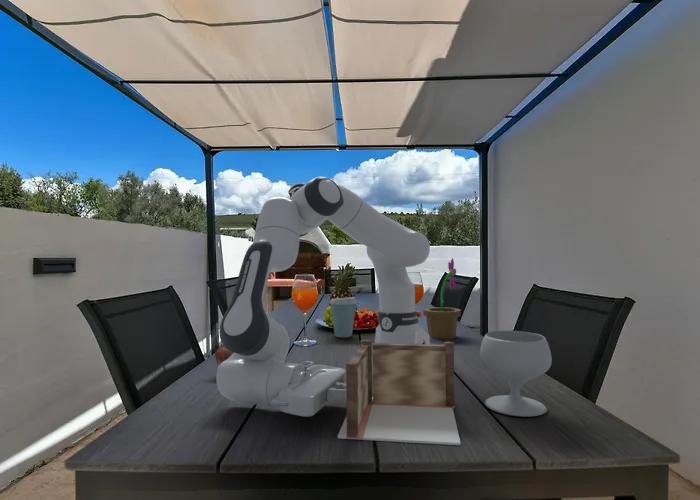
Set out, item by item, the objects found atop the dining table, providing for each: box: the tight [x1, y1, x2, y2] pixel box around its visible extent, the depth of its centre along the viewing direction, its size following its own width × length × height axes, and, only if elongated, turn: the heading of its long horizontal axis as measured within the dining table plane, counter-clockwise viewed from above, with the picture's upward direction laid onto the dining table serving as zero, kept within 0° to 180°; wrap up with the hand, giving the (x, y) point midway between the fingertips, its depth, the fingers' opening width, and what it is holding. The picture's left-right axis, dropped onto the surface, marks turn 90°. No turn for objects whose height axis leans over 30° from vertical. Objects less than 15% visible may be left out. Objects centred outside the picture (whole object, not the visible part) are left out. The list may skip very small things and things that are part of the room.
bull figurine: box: [214, 347, 234, 368], centre depth 116 cm, size 4×13×8 cm, turn 79°
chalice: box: [479, 330, 552, 418], centre depth 91 cm, size 14×14×15 cm
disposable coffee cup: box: [329, 296, 357, 338], centre depth 169 cm, size 11×11×15 cm
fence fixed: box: [359, 339, 455, 410], centre depth 92 cm, size 20×2×14 cm, turn 81°
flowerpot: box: [422, 257, 462, 340], centre depth 167 cm, size 14×14×30 cm
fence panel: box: [345, 345, 369, 436], centre depth 84 cm, size 17×2×12 cm, turn 170°
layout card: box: [337, 396, 461, 446], centre depth 85 cm, size 22×22×1 cm
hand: (354, 393), depth 84 cm, fingers closed
